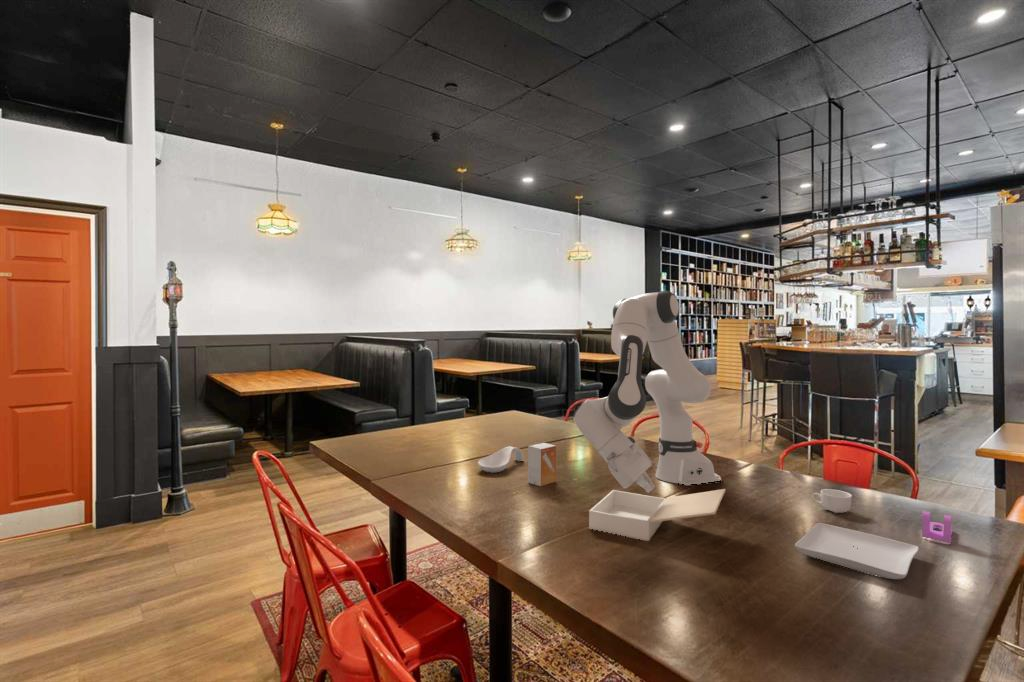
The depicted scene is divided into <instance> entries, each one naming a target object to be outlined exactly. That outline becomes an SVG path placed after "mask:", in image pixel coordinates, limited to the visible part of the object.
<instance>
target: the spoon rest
mask: <svg viewBox="0 0 1024 682" xmlns="http://www.w3.org/2000/svg"><path fill="white" fill-rule="evenodd" d="M512 452H513V453H512ZM512 454H514V458H513V459H514V461H516V460H517V461H516V462H520V461H524V462H525V455H524V454H523V451H522V450H521V449H520V448H519V447H516V446H515V447H513V446H511V445H510V446H505V447H503V448H501V449H500V450H497V451H496V452H494V453H492V454H490V455H488V456H485V457H483V458H480V459H479V460H478V461H477V465H478V467H479V468H480V469H481V471H482V470H483V471H484V472H486V473H489V472H490V473H489V474H497V472H499V473H501V471H502V472H503V471H504V470H505V469H506V468H507V467H508V465H509V463H510V460H511V457H512Z"/></svg>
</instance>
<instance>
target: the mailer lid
mask: <svg viewBox="0 0 1024 682" xmlns="http://www.w3.org/2000/svg"><path fill="white" fill-rule="evenodd" d="M725 493H726V488H722V489H716V490H709V491H703V492H702V491H701V492H696V493H689V494H682V495H676V496H675V495H674V496H669V497H667V498H665V499H666V501H665V502H664V503H663V504H662V506H661V507H660V508H659V510H658V511H657V512H656V513H655V515H654V516H653V517H652V519H651V520H650V522H659V521H663V522H665V521H673V520H681V519H682V520H683V519H688V518H696V517H698V518H699V517H703V516H712V515H716V513H717V511H718V509H719V506H720V504H721V501H722V499H724V498H723V497H724V495H725Z"/></svg>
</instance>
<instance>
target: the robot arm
mask: <svg viewBox="0 0 1024 682" xmlns="http://www.w3.org/2000/svg"><path fill="white" fill-rule="evenodd" d="M679 304H680V303H679V301H678V298H677V296H676V295H675V294H674V293H673V292H672V291H670V290H661V291H659V292H658V291H657V292H648V293H647V292H646V293H642V294H639V295H635V296H632V297H628V298H622V299H620V300H618V301H616V303H615V305H614V306H613V309H612V318H613V323H612V327H611V335H610V337H611V338H610V345H611V346H610V347H611V350H612V351H613V353H615V355H617V356H618V357H619V364H618V371H617V372H618V373H617V379H616V381H615V383H614V384H613V386H612V387H611V389H610V391H609V394H608V396H605V397H601V398H597V399H596V398H595V399H590V398H586V399H585V400H584V401H582V402H581V403H580V405H579V406H577V409H576V410H575V411H574V414H573V422H574V424H575V425H576V427H577V428H578V430H579V431H580V432H581V434H582V435H583V436H584V437H585V439H586V440H587V441H588V442H590V443H591V444H592V445H593V446H594V448H595V449H596V451H597V453H598V454H599V455H600V456H601V457H602V458H603V459H604V460H605V462H606V463H607V465H608V466H607V467H608V469H609V472H610V473H611V474H612V476H613V477H614V479H615V480H616V481H617V482H618V484H619V485H620V487H622V488H623V489H628V488H629V487H630V486H631V485H632V484H634V483H636V484H637V486H640V487H641V488H643V490H645V492H646V493H650V492H651V491H653V489H654V488H655V487H656V486H655V484H654V483H653V481H652V480H651V478H650V476H649V475H648V473H647V470H648V469H650V467H652V466H653V464H652V461H651V459H650V457H649V456H648V455H647V454H646V452H645V451H644V450H643V449H642V448H641V447H640V446H639V445H638V444H637V440H636V439H635V437H633V436H629V435H626V434H624V433H623V432H622V429H623V428H625V427H627V426H629V425H630V424H631V423H632V422H633V421H634V420H635V419H636V418H637V417H638V416H639V415H641V413H642V412H643V411H644V409H645V408H646V405H647V396H646V394H645V390H646V392H647V393H648V395H650V396H651V397H652V399H653V401H654V402H655V405H656V408H657V410H658V411H657V412H658V415H659V427H660V428H659V437H658V455H659V457H658V462H657V468H656V472H655V475H654V476H655V477H656V479H658V480H660V481H664V482H668V483H673V484H678V483H679V485H682V484H684V485H683V486H692V485H691V484H697V485H702V484H701V483H706V484H709V483H708V482H714V481H720V480H721V481H722V477H721V476H720V475H719V474H717V473H715V468H714V467H715V466H714V464H713V462H712V461H711V460H710V459H709V458H708V457H707V456H705V455H704V454H703V453H702V452H701V451H699V450H698V448H699V449H701V448H703V443H702V442H700V441H696V440H695V439H693V418H692V415H690V414H689V412H687V411H686V409H685V407H684V406H683V403H689V404H692V403H693V404H695V403H703V402H704V401H706V400H707V399H708V398H709V396H710V394H711V389H712V386H711V385H712V384H711V382H710V379H709V377H707V376H706V375H704V374H703V373H702V372H701V371H699V370H698V369H697V368H696V366H695V365H694V364H693V363H692V362H691V359H689V357H688V355H687V353H686V351H685V349H684V346H683V342H682V340H681V336H680V331H679V328H678V325H677V323H676V319H677V317H678V316H679V313H680V306H679ZM647 343H648V348H649V351H650V355H651V358H652V360H653V362H654V363H655V364H656V365H658V366H659V367H660V368H661V369H655V370H651V371H650V372H649V373H648V374H647V375H646V377H645V381H644V387H645V390H644V387H643V382H642V370H643V369H642V368H643V355H644V353H645V349H646V346H647Z"/></svg>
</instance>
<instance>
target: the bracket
mask: <svg viewBox="0 0 1024 682" xmlns="http://www.w3.org/2000/svg"><path fill="white" fill-rule="evenodd" d="M921 515H922V517H921V538H922V537H926V538H931V539H934V540H939V541H943V542H947V543H951V544H952V537H951V535H952V536H953V527H952V523H953V522H952V518H953V517H952V515H947V514H943V523H940V522H936V521H931V512H930V511H927V510H922V514H921ZM934 526H936V527H941V528H942V530H936V529H934V530H933V527H934Z"/></svg>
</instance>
